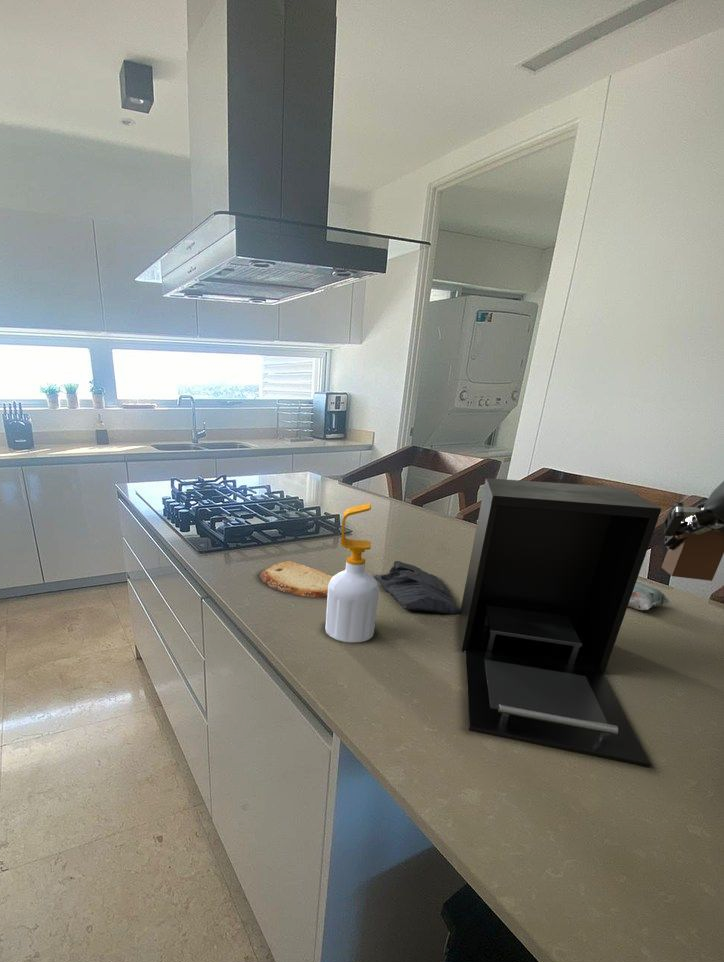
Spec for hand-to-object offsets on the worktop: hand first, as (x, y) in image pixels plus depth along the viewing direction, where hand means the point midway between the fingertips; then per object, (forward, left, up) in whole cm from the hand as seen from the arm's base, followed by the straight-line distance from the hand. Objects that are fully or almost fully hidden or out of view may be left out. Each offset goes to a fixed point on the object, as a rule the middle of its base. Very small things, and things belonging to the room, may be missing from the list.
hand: (690, 546), depth 80 cm
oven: (+22, +17, -20) cm, 34 cm away
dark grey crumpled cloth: (+42, -10, -20) cm, 48 cm away
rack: (+22, +7, -19) cm, 30 cm away
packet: (0, +2, -4) cm, 5 cm away
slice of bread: (+68, -7, -20) cm, 71 cm away
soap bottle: (+53, +13, -20) cm, 58 cm away
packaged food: (-2, -21, -20) cm, 29 cm away
